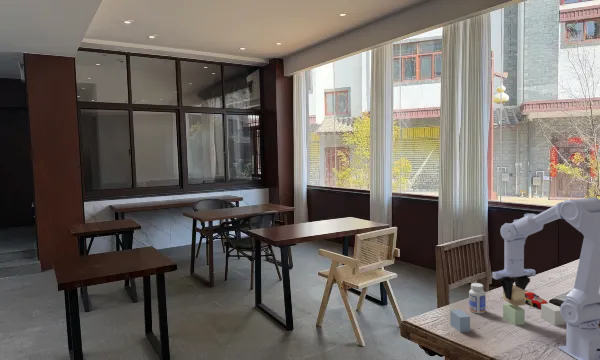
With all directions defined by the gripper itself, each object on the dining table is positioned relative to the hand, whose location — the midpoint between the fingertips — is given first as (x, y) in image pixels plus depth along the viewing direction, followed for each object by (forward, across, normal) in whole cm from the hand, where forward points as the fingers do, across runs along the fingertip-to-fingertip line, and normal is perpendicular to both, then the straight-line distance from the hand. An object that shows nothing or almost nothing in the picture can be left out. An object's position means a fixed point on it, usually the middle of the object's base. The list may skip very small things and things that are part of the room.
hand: (513, 298), depth 133 cm
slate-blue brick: (+8, +20, +1) cm, 22 cm away
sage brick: (+8, 0, 0) cm, 8 cm away
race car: (+8, -16, -13) cm, 22 cm away
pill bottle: (+8, +7, -10) cm, 15 cm away
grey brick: (+8, -12, +3) cm, 15 cm away
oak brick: (+1, 0, 0) cm, 1 cm away
